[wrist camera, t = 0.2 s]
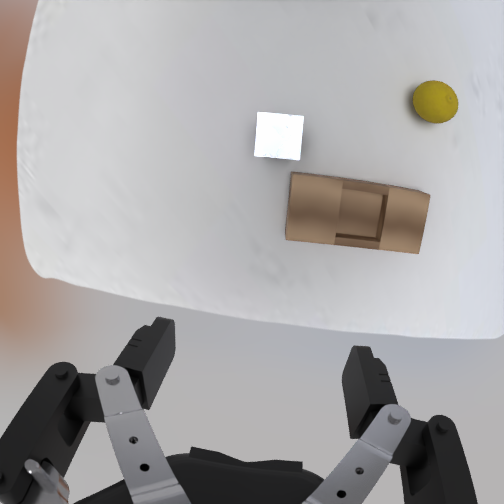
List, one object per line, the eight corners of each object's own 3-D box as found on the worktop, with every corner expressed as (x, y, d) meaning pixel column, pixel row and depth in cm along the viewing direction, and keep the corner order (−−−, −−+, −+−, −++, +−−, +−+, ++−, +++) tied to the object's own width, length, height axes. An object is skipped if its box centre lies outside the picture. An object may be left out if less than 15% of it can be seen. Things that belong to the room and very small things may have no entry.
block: (263, 122, 36) (257, 112, 25) (295, 125, 36) (303, 116, 25) (261, 153, 38) (254, 156, 26) (292, 156, 37) (299, 160, 26)
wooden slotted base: (291, 171, 38) (292, 174, 35) (419, 190, 37) (430, 194, 34) (285, 232, 41) (285, 239, 38) (408, 245, 40) (418, 254, 37)
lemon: (444, 112, 33) (475, 108, 26) (419, 131, 35) (448, 130, 27) (422, 78, 32) (451, 68, 24) (396, 97, 33) (421, 88, 26)
